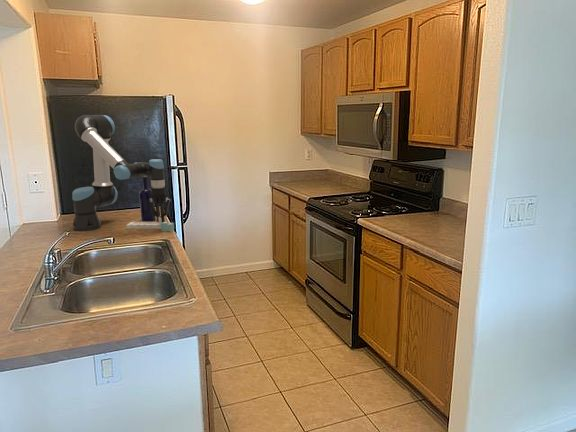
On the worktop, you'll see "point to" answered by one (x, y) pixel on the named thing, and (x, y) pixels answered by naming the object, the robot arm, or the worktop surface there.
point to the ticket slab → (144, 225)
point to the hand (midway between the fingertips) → (161, 227)
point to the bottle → (146, 202)
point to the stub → (167, 226)
